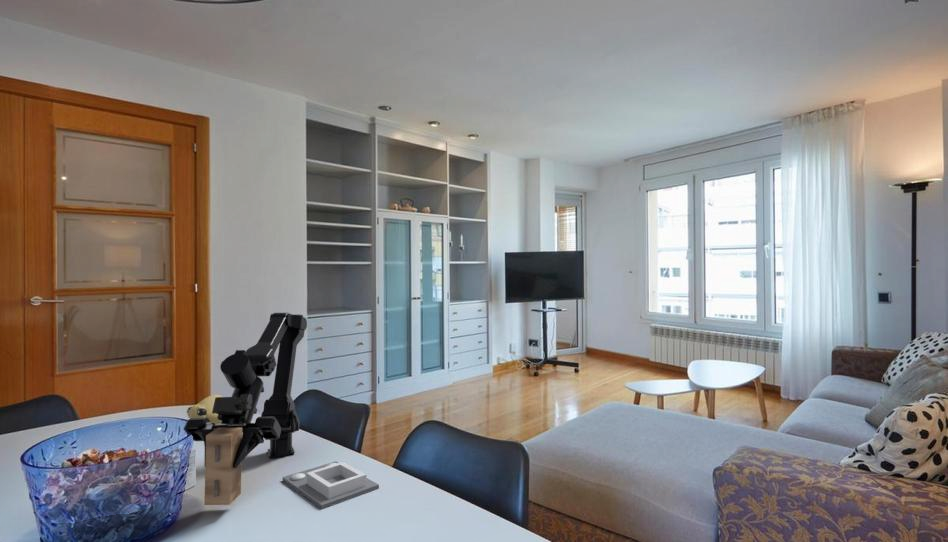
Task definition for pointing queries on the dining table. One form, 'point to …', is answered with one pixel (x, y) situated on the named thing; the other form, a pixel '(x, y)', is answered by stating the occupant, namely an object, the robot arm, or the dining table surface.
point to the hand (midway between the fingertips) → (220, 467)
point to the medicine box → (191, 471)
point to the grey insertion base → (330, 483)
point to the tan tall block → (222, 466)
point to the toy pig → (204, 410)
